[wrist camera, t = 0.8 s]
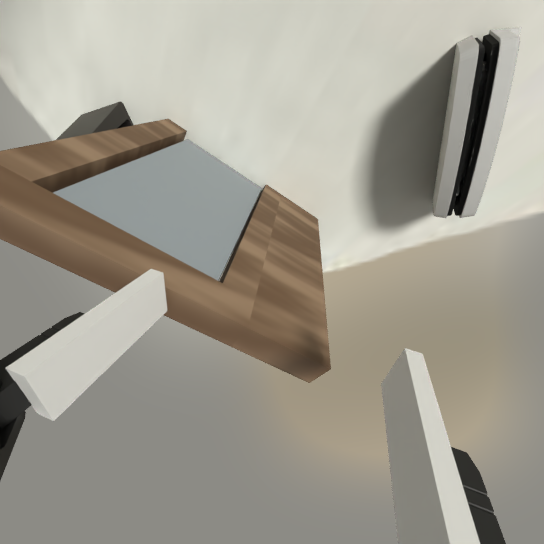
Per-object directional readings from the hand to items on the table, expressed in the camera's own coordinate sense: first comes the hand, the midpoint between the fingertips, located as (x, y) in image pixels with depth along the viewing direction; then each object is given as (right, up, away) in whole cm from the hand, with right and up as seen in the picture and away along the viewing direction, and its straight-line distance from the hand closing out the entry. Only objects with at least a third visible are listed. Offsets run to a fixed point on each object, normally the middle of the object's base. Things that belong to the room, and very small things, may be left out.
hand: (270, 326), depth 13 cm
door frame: (-4, +16, +21) cm, 27 cm away
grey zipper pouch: (+21, +19, +16) cm, 33 cm away
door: (-7, +16, +20) cm, 27 cm away
